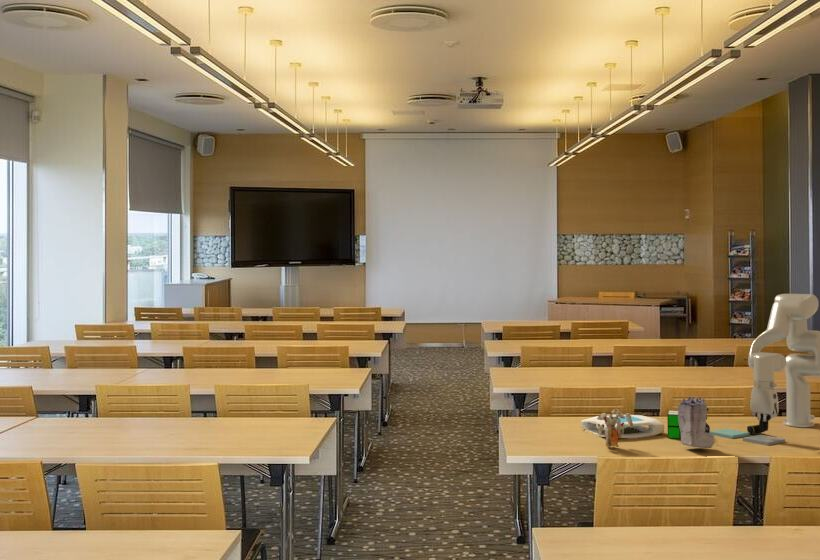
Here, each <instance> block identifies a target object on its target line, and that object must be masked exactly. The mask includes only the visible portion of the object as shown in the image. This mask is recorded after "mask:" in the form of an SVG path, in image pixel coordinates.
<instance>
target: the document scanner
mask: <svg viewBox="0 0 820 560" xmlns="http://www.w3.org/2000/svg"><path fill="white" fill-rule="evenodd" d="M612 415H613V417H616V415H617V414H612ZM623 415H624V416H625V419H622V418H620V417H618V418H620V420H621V423H623V422H624V424H625V427H630V428H629V429H631V428H634V429H633V430H635V429H637V430H636V431H638V430H639V432H637V433H636V432H635V433H624V434H621V438H628V439H638V437H639V438H646V437H647V438H648V437H655V436H657V435H659V434H660V435H661V434H662V433H664V432H665V424H664V423H663V422H661V421H660V420H659V419H657V418H653V417H649V416H645V415H641V414H630V415H631V419H632V423H633V426H630V424H628V422H627V420H626V414H623ZM598 416H599V415H597V416H592V417H590V418H585V419H582V420H581V422H580V423H581V424H580V425H581V427H580V428H581V429H582V428H583V429H585V430H588V431H590V432H593V433H594V434H596V435H599V434H598V430H599V429H598V428H597V427H598V424H600V425H602V424H604V429H606V424H605V420H598V419H597V418H598ZM607 417H608V418H610V417H609V414H607ZM645 426H648V427H645ZM615 428H616V429H617V423H616V425H615ZM583 429H582V430H583ZM604 429H603V430H604ZM599 436H601V437H605V435H599Z"/></svg>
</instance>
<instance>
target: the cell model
mask: <svg viewBox="0 0 820 560" xmlns="http://www.w3.org/2000/svg"><path fill="white" fill-rule="evenodd" d="M705 399H706V398H705V397H701V396H699V397H693V396H691V397H690V396H689V397H688V398H687V399H685V397H682V401H681V402H680V403H679V402H678V405H677V408H678V410H677V411H678V422H679V428H680V432H681V438H680V442H681V443H680V444H682V445H684V446H687V447H692V448H700V449H701V448H702V449H711V448H712V447H713V446H714V442H715V435H712V434H709V432H710V431H711V430H710V429H711V427H710V425H709V424H708V423H707V419H708V417H707V413H708V412H709V407H708V405H707V403H706V402H705V401H706V400H705Z"/></svg>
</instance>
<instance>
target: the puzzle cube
mask: <svg viewBox="0 0 820 560" xmlns="http://www.w3.org/2000/svg"><path fill="white" fill-rule="evenodd" d="M667 411H668V412H667V438H668V439H675V440H681V432H680V428H679V422H678V410H667Z"/></svg>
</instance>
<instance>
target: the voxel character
mask: <svg viewBox="0 0 820 560" xmlns="http://www.w3.org/2000/svg"><path fill="white" fill-rule="evenodd" d="M614 414H615V415H616V417H613V415H614ZM607 415H609V417H610V418H608V417H607ZM624 415H626V420H627V422H628V424H630V426H633V423H632V419H631V415H632V414H631V413H625V414H623V413H622V412H621V411H620V410H619V409H618V408H616V409H613V410H611V411H610V412H609V413H606V412H602V413H601V414H600V415H597V416H598V418H597V419H598V420H605V424H606V429H604V424H602V425H600V424H598V425H597V427H598V429H599V430H598V434H599V435H605V437H606V438H605V447H607V448H611V447H614V448H619V444H618V441H619V439H618V438H621V434H625V433H624V432H625V429H626V428H625V424H624V422H623V423H621V420H620V418H622V419H625V416H624ZM618 417H620V418H618ZM616 423H617V429H616V428H615V425H616ZM603 429H604V430H603Z"/></svg>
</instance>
